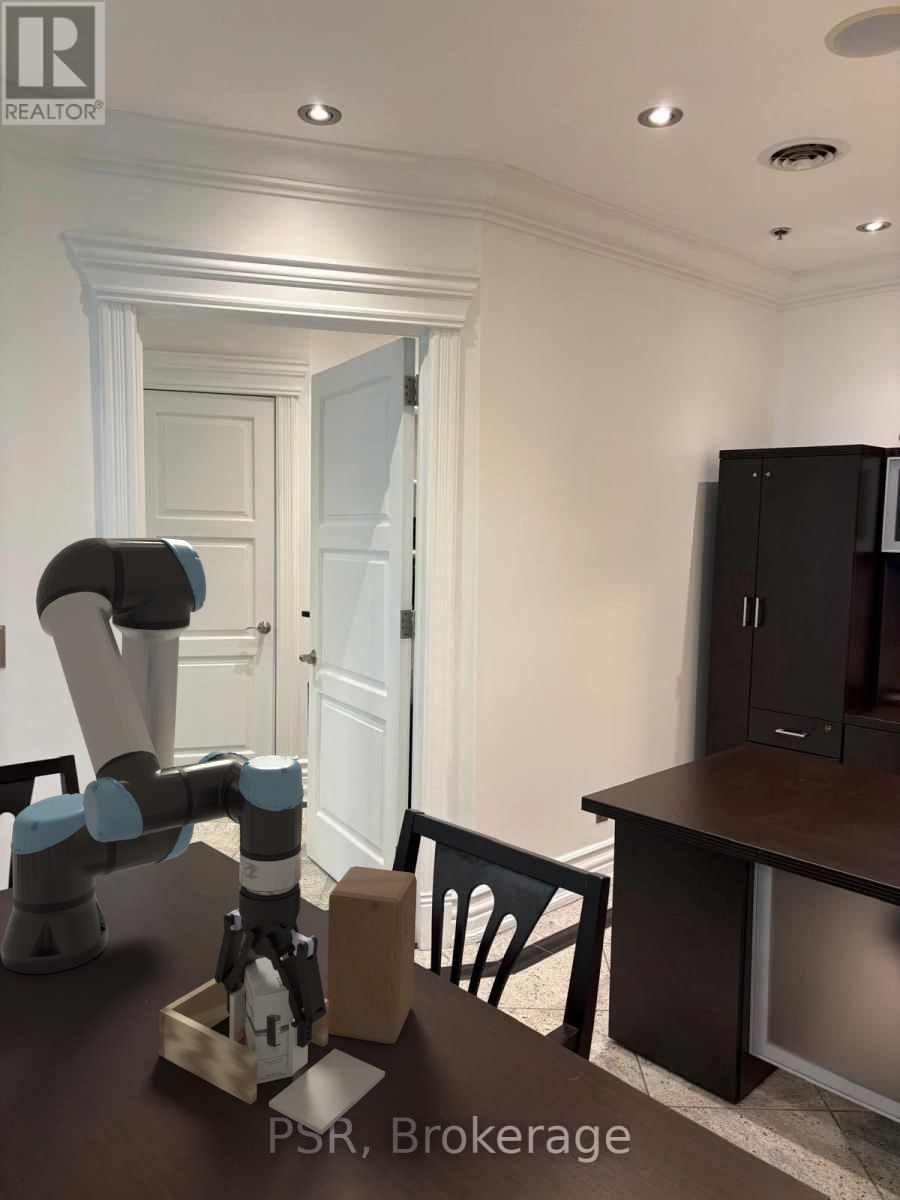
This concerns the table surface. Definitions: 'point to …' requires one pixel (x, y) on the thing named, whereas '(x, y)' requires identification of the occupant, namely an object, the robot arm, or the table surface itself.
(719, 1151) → the table surface
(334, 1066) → the mat
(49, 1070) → the table surface
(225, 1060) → the crate
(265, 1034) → the ink box
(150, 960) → the table surface
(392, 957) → the wooden block
